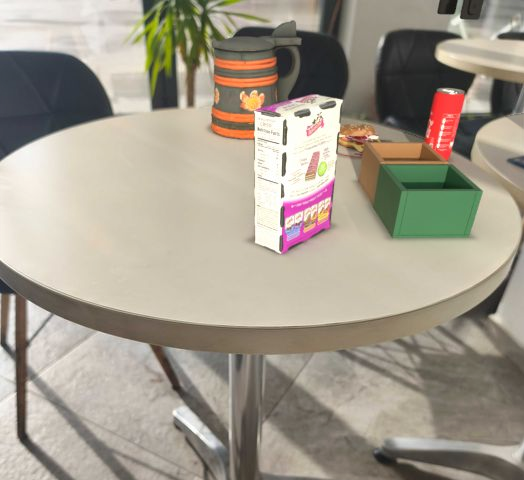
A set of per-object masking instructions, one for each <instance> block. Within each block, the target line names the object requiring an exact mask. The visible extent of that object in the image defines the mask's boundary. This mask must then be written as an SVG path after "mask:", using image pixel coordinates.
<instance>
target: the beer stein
mask: <svg viewBox="0 0 524 480" xmlns="http://www.w3.org/2000/svg"><path fill="white" fill-rule="evenodd" d="M302 40H303V39H302V37H299V36H297V22H296V20H294V19H291V20H290V21H284V22H282V23H280V24H278V25H277V26H276V28H275V29H274V30H273V32H272V33H271V35H261V36H257V37H256V36H231V37H227V38H224V39H222V40H211V41H212V42H211V47H212V48H213V56H214V62H213V64H214V65H213V78H212V79H213V81H214V88H213V89H214V90H213V105H212V106H211V125H210V129H211V131H212V132H213V133H214V134H216V135H219V136H221V137H224V138H227V139H237V140H254V110H255V109H259V108H263V107H266V106H270V105H274V104H277V103H281V102H285V101H289V100H290V99H289V95H290V94H291V92H292V90H293V88H294V86H295V85H296V82H297V80H298V77H299V75H300V71H301V54H300V50H299V47H298V46H301V45H302ZM282 49H286V50H287V51H288V52H289V53H290V55H291V58H292V62H291V63H292V64H291V66H290V68H289V69H290V70H289V71H288V73H286V74H285V75H284V76H279V74H278V69H279V68H278V66H277V65H278V64H277V59H278V56H276V53H277V51H278V50H282Z"/></svg>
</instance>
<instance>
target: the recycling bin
mask: <svg viewBox="0 0 524 480" xmlns="http://www.w3.org/2000/svg"><path fill="white" fill-rule="evenodd" d="M483 193H484V190H483V189H482V188H481V187H479V186H478V185H477V184H476V183H475V182H473V181H472V180H471V179H470V178H469V177H468V176H467V175H465V174H464V173H463V172H462V171H461V170H460V169H459V168H457V167H456V166H455V165H454V164H453V163H449V164H380V168H379V174H378V180H377V186H376V192H375V198H374V204H372V208H373V210H374V211H375V213H376V215H377V216H378V218H379V220H380V221H381V222H382V224H383V226H384V227H385V229H386V231H387V232H388V234H389V236H390V237H391V238H392V239H448V238H449V239H451V238H452V239H454V238H457V239H460V238H463V239H464V238H470V235H471V233H472V229H473V226H474V222H475V220H476V216H477V212H478V210H479V206H480V204H481V203H480V202H481V199H482V196H483Z"/></svg>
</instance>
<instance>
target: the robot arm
mask: <svg viewBox="0 0 524 480" xmlns="http://www.w3.org/2000/svg"><path fill="white" fill-rule="evenodd" d="M458 1H459V0H439V1H438V5H437V11H436V13H437V14H438V15H449V16H450V15H453V16H454V15H455V14H456V12H457V6H458V3H459V2H458ZM484 1H485V0H462V5H461V9H460V14H459V19H460V20H468V21H469V20H470V21H471V20H472V21H473V20H474V21H475V20H479V19H480V18H481V17H480V16H481V14H482V13H481V12H482V8H483V5H484Z"/></svg>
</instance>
